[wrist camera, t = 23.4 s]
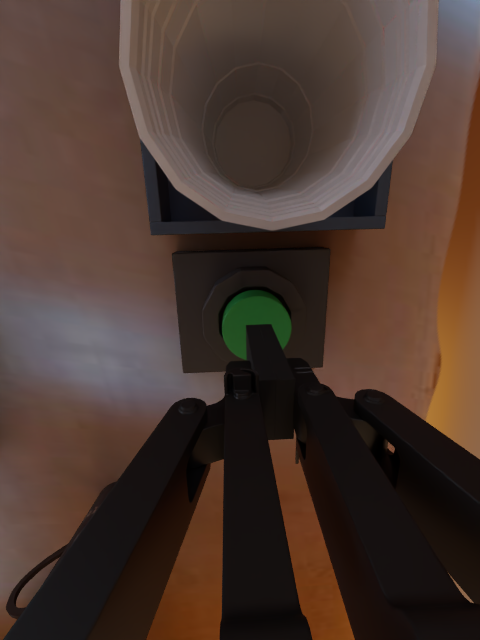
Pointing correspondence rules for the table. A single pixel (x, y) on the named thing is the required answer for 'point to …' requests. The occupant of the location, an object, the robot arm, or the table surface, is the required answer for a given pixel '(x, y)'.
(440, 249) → the table surface
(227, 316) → the button
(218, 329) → the control block
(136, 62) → the plastic cup
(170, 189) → the shallow tray
